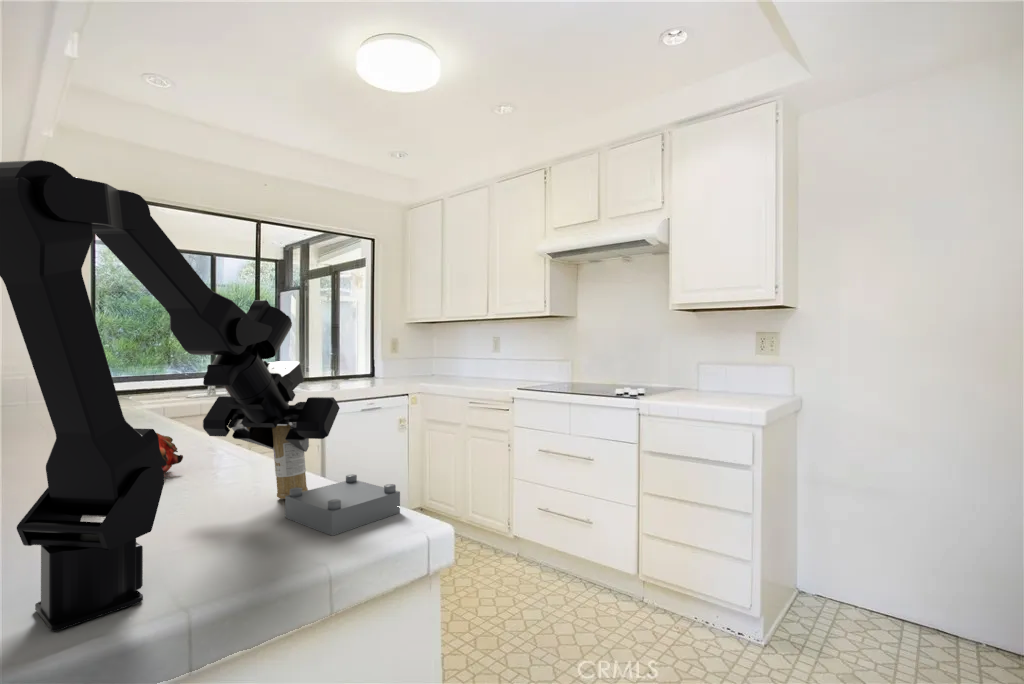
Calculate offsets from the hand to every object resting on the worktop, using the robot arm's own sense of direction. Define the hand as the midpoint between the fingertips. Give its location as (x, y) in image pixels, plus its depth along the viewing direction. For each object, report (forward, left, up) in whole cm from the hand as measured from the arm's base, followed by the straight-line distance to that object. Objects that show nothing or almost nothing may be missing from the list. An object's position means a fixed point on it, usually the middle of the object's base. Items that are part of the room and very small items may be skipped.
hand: (293, 448), depth 81 cm
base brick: (-1, -14, -7) cm, 16 cm away
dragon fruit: (-9, +33, -8) cm, 35 cm away
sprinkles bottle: (-1, -1, -7) cm, 7 cm away
